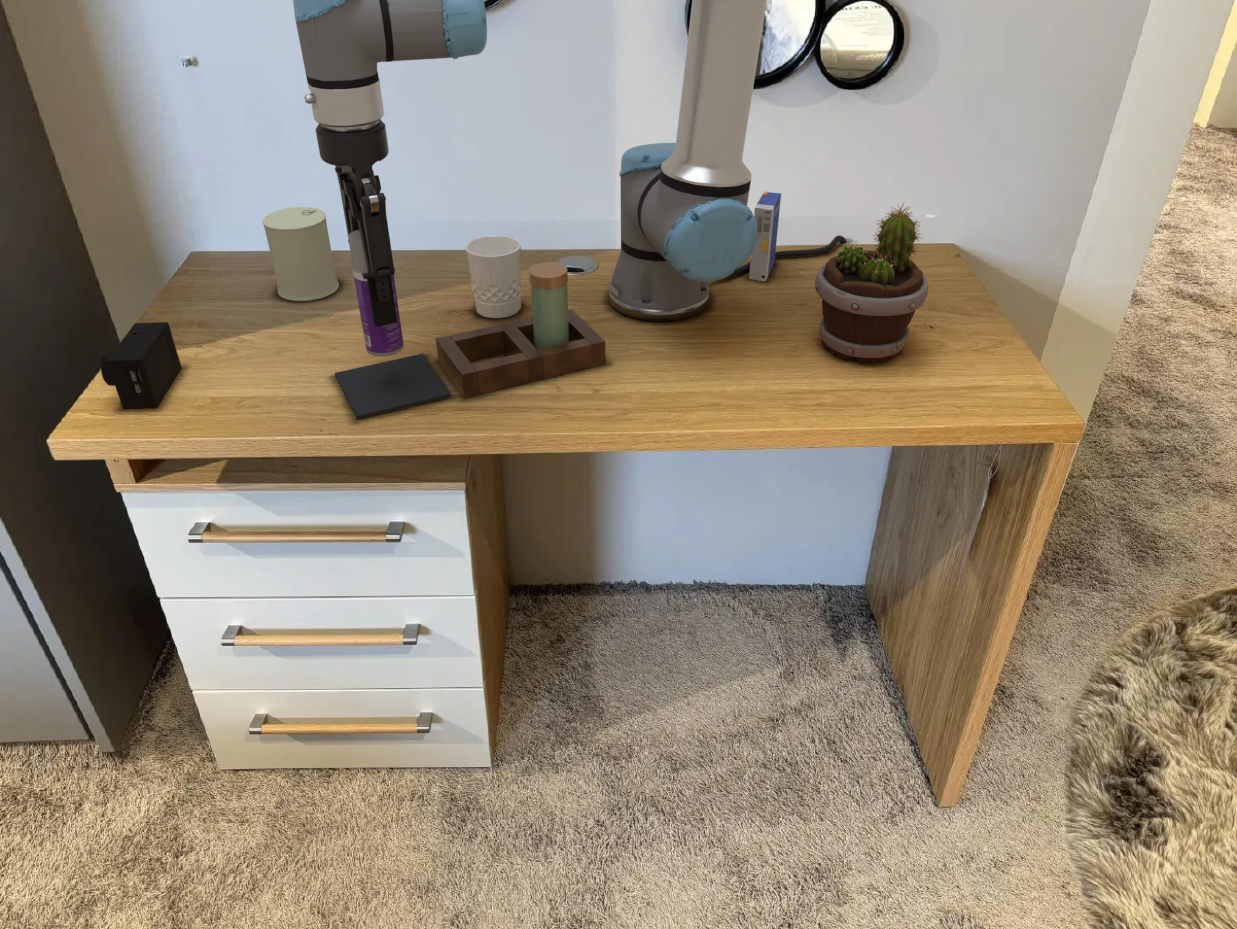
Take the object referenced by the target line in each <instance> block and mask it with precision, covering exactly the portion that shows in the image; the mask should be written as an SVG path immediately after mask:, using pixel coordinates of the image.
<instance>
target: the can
mask: <svg viewBox="0 0 1237 929" xmlns="http://www.w3.org/2000/svg"><path fill="white" fill-rule="evenodd" d="M262 225H263V228H264V232H265V235H266V236H265V237H266V241H267V245H268V249H269V253H270V258H271V262H272V267H273V272H274V276H275V281H276V286H277V294H278V296H279V297H281V298H283V299H284V300H286V301H290V302H291V301H292V302H311V301H318V300H321V299H325V298H326V297H329V296H331V295H333V294H334V293H336V292H337V290H338V289H339V287H340V283H339V281H338V278H337V272H336V268H335V262H334V258H333V253H332V247H331V241H330V235H329V229H328V223H327V215H326V213H325V211H323V210H322V209H319V208H316V207H309V206H295V207H287V208H282V209H278V210H275V211H272V212H270V213H268V214H266V215H265V216H264V217H263V219H262Z"/></svg>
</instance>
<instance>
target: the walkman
mask: <svg viewBox="0 0 1237 929" xmlns="http://www.w3.org/2000/svg"><path fill="white" fill-rule="evenodd" d="M781 199H782V193H781V192H772V191H771V192H770V191H763V193H762V194H761V196H760V198H759V200H758V201H757V203H756V205H755V207H754V214H753V215H754V218H755V221H756V224H757V240H756V244H755V246H754V249H753V251H752V253H751V255H750V261H749V262H750V269H749V275H748V277H749V278H748V279H749V280H753V281H758V282H766V281H767V279H768V277H769V275H770V273H771V271H772V268H773V266H774V264H775V261H776V258H775V252H777V241H778V230H779V218H780V209H781Z"/></svg>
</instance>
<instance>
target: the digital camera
mask: <svg viewBox="0 0 1237 929" xmlns="http://www.w3.org/2000/svg"><path fill="white" fill-rule="evenodd" d="M182 369H183V367H182V364H181V361H180V357H179V354H178V351H177V347H176V344H175V341H174V337H173V334H172V330H171V327H170V324H169V322H167V321H159V322H158V321H157V322H156V321H155V322H135V323H134V324H133V325H132V326H131V328H130V329H129V330H128V332H127V333H126V334H125V336H124V337H123V338H122V339H121V341H120V342H119V344H118V345H117V346H116V348H114V349H113V350H111V349H109V350H105V351H104V352H102V354H101V358H100V373H101V377H102V379H103V381H104V383H105V384H106V385H107V386H110V387H115V389H116V393H117V396H118V398H119V402H120V404H121V407H122V409H123V410H128V409H131V410H132V409H154V408H155V409H156V408H158V407H159V406H160V404H161V403H162V401H163V399H164V398H165V396H166V395H167V393H168V391H169V389H170V388H171V386H172V384H174V381H175V379H176V378H177V376H178V375H179V373H180V372H181V370H182Z"/></svg>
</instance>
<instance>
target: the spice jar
mask: <svg viewBox="0 0 1237 929" xmlns="http://www.w3.org/2000/svg"><path fill="white" fill-rule="evenodd" d="M568 273H569V272H568V267H567V266H566V265H565V264H562V263H560V262H555V261H554V262H553V261H546V262H540V263H535V264H533V265H532V266H530V267H529V268H528V279H529V280H528V281H529V286H530V300H531V318H532V319H533V336H534V347H535V348H536V349H541V348H545V347H550V346H554V345H559V344H563V343H567V342H569V322H568V310H569V302H568V301H569V299H568V298H569V296H568V281H569V276H568V275H569V274H568Z"/></svg>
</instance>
